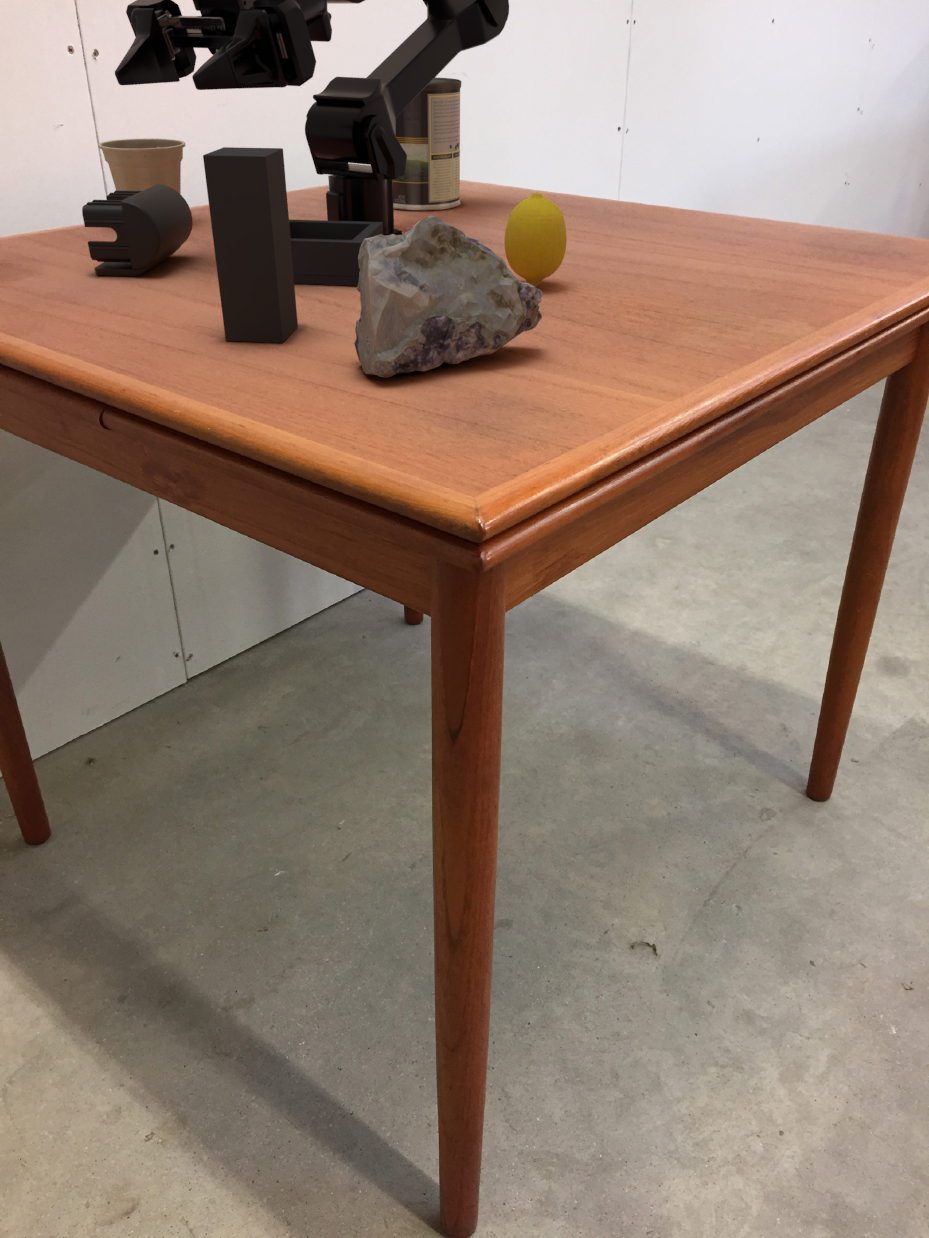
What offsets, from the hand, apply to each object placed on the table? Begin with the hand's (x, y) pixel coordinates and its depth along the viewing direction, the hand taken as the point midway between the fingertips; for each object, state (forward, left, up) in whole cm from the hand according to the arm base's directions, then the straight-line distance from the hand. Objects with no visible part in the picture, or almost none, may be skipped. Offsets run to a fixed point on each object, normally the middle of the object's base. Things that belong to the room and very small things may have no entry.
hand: (155, 81), depth 83 cm
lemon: (-25, +20, -17) cm, 36 cm away
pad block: (+2, +19, -16) cm, 25 cm away
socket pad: (-13, +3, -16) cm, 21 cm away
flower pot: (-9, -29, -17) cm, 35 cm away
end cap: (0, -9, -17) cm, 19 cm away
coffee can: (-42, -22, -17) cm, 50 cm away
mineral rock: (-5, +34, -17) cm, 38 cm away
